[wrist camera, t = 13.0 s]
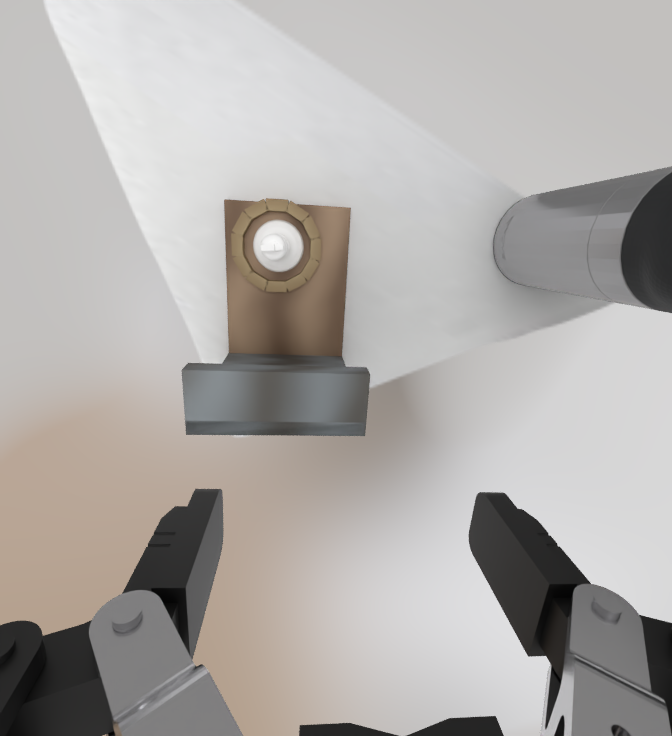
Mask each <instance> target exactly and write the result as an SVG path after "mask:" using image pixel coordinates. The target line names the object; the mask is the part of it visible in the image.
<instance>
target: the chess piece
mask: <svg viewBox="0 0 672 736" xmlns="http://www.w3.org/2000/svg"><path fill="white" fill-rule="evenodd" d="M253 249H254V253H255V256H256V258H257V260H258V261H259V263H260V264H261V265H262V266H264V267H265V268H266V269H268V270H270V271H274V272H285V271H288V270H291V269H292V268H294V267H295V266H296V265H297V264H298V263H299V261H300V260H301V258H302V255H303V251H304V244H303V239H302V236H301V234H300V232H299V231H298V230H297V228H296V227H295V226H293V225H292V224H291V223H289V222H287V221H284V220H271V221H268V222H266V223H264V224H263V225H262V226H261V227H260V228H259V229H258V230H257V232H256V234H255V236H254V240H253Z"/></svg>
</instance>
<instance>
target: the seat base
mask: <svg viewBox="0 0 672 736" xmlns="http://www.w3.org/2000/svg"><path fill="white" fill-rule="evenodd" d="M224 205H225V238H226V271H227V303H228V336H229V354H228V355H227V357H226V359H225V360H224V362H223V363H222V364H205V363H188V364H187V365H186V366H185V367H184V368H183V369H182V381H183V395H184V409H185V424H186V435H313V436H314V435H315V436H320V435H321V436H322V435H323V436H365V429H366V418H367V405H368V394H369V382H370V373H369V371H368V369H367V368H366V367H345V364H344V361H343V358H342V343H343V327H344V310H345V293H346V277H347V260H348V244H349V227H350V210H351V208H345V207H329V206H314V205H299V204H294V203H293V202H292V201H290V203H289V201H288V200H282V199H267V198H266V202H265V200H264V199H263V200H261V201H259V202H254V201H238V200H224ZM271 220H284V221H287V222H289V223H291V224H292V225H293V226H295V227H296V228H297V230H298V231H299V232H300V234H301V236H302V239H303V244H304V251H303V255H302V258H301V260H300V261H299V263H298V264H297V265H296V266H295V267H294V268H292V269H291V270H288V271H285V272H274V271H270V270H268V269H266V268H265V267H264V266H262V265H261V264H260V263H259V261H258V260H257V258H256V256H255V253H254V249H253V240H254V236H255V234H256V232H257V230H258V229H259V228H260V227H261V226H262V225H263V224H264V223H266V222H268V221H271Z"/></svg>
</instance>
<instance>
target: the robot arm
mask: <svg viewBox="0 0 672 736" xmlns="http://www.w3.org/2000/svg"><path fill="white" fill-rule="evenodd" d="M494 255H495V260H496V262H497V265H498V267H499V269H500V270H501V272H502V273H503V274H504V275H505V276H506V277H507V278H508V279H510V280H511V281H513V282H515V283H518V284H521V285H526V286H531V287H536V288H541V289H546V290H551V291H557V292H562V293H567V294H573V295H578V296H583V297H589V298H594V299H599V300H605V301H610V302H615V303H621V304H627V305H633V306H638V307H643V308H649V309H654V310H658V311H664V312H669V313H672V167H667V168H662V169H657V170H654V171H649V172H644V173H639V174H634V175H630V176H624V177H620V178H615V179H610V180H605V181H600V182H595V183H590V184H585V185H581V186H576V187H571V188H566V189H560V190H555V191H550V192H546V193H541V194H536V195H532V196H529V197H526V198H524V199H522V200H520V201H519V202H517V203H516V204H514V205H513V206H512V207H511V208H510V209H509V210H508V211H507V212H506V214H505V215H504V217H503V218H502V219H501V221H500V223H499V226H498V228H497V230H496V234H495V238H494ZM222 499H223V497H222V490H221V489H195V491H194V493H193V495H192V497H191V500H190V502H189V504H188V506H187V507H179V506H177V507H174V508H173V509H172V510H171V511H169V512H168V513H167V514H166V515H165V516H164V517H162V519H161V520H160V522H159V525H158V526H157V528H156V530H155V532H154V535H153V536H152V538H151V540H150V541H149V543H148V547H146V549H145V551H144V553H143V555H142V557H141V559H140V561H139V563H138V565H137V566H136V569H135V570H134V572H133V574H132V576H131V578H130V580H129V582H128V584H127V586H126V588H125V589H124V592H123V593H122V594H121V595H119V596H117V597H115V598H113V599H112V600H110V601H109V602H107V603H106V604H105V605H104V606H102V607H101V608H100V610H99V611H98V612H97V613H96V614H95V616H94V618H93V619H92V620H91V621H89V622H87V623H85V624H82V625H79V626H75V627H72V628H68V629H65V630H62V631H58V632H55V633H51V634H48V635H45V636H43V635H42V631H41V629H40V628H39V626H38V625H37V624H35V623H33V622H30V621H15V622H10V623H6V624H3V625H0V736H102V735H105V734H106V736H243V735H242V733H241V731H240V729H239V727H238V725H237V723H236V721H235V720H234V718H233V716H232V714H231V712H230V710H229V708H228V707H227V705H226V703H225V701H224V699H223V697H222V695H221V694H220V692H219V690H218V688H217V686H216V685H215V682H214V680H213V679H212V677H211V675H210V673H209V672H208V670H207V669H206V667H205V666H203V665H199V666H197V667H196V666H195V664H194V663H193V661H192V659H193V655H194V651H195V648H196V644H197V640H198V637H199V633H200V629H201V625H202V622H203V618H204V614H205V611H206V606H207V603H208V599H209V595H210V592H211V588H212V585H213V581H214V577H215V573H216V570H217V566H218V562H219V559H220V555H221V550H222V544H223V543H222V542H223V500H222ZM469 544H470V548H471V551H472V554H473V556H474V557H475V559H476V561H477V563H478V565H479V566H480V568H481V570H482V572H483V574H484V576H485V578H486V580H487V581H488V583H489V585H490V587H491V589H492V590H493V592H494V594H495V596H496V598H497V600H498V602H499V603H500V605H501V607H502V609H503V611H504V613H505V615H506V616H507V618H508V620H509V622H510V624H511V626H512V627H513V629H514V631H515V633H516V635H517V637H518V638H519V640H520V642H521V644H522V646H523V648H524V650H525V651H526V653H527V655H528V656H547V658H548V660H549V662H550V663H551V664H550V667H549V670H548V675H547V683H546V692H545V701H544V710H543V718H542V727H541V736H672V623H669V622H665V621H661V620H657V619H653V618H649V617H645V616H641V615H639V614H638V613H637V611H636V610H635V609H634V608H633V607H632V606H631V605H630V604H629V603H628V602H627V601H626V600H625V599H623V598H622V597H621V596H619V595H618V594H616V593H614V592H612V591H610V590H608V589H606V588H604V587H601V586H597V585H593V584H591V583H590V582H589V581H588V580H587V578H586V577H585V576H584V575H583V574H582V572H581V571H580V570H579V569H578V568H577V567H576V565H575V564H574V563H573V562H572V561H571V559H570V558H569V557H568V556H567V555H566V554H565V552H564V551H563V550H562V549H561V548H560V547H558V546H557V543H556V542H555V541H554V539H553V538H552V537H551V536H549V535H548V532H547V531H546V530H545V529H544V528H543V526H542V525H541V524H540V523H539V522H538V521H537V520H536V519H535V518H534V517H532V516H531V515H529V514H528V513H527V512H525V511H524V510H522V509H517V507H516V506H515V505H514V504H513V502H512V501H511V500H510V499H509V497H508V496H507V495H506V494H505V493H490V492H487V493H485V492H482V493H481V492H480V493H478V495H477V497H476V500H475V506H474V511H473V515H472V520H471V525H470V530H469ZM299 736H397V735H394V734H390V733H386V732H382V731H378V730H374V729H371V728H367V727H363V726H359V725H355V724H352V723H339V724H319V725H300V731H299ZM407 736H504V735H503V733H502V730H501V728H500V726H499V723H498V721H497V718H496V716H489V717H470V718H469V717H468V718H449V719H447V720H444V721H442V722H439V723H437V724H434V725H432V726H429V727H427V728H425V729H422V730H419V731H417V732H415V733H412V734H410V735H407Z"/></svg>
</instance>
